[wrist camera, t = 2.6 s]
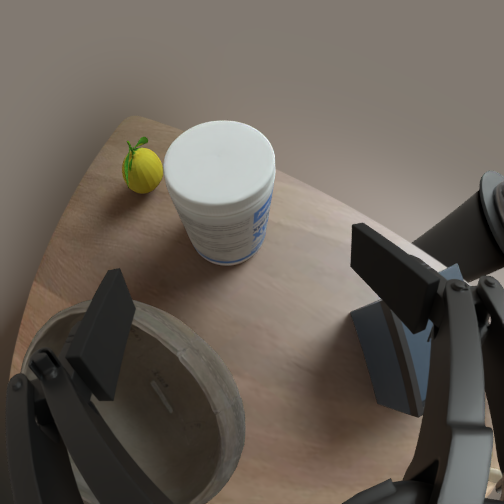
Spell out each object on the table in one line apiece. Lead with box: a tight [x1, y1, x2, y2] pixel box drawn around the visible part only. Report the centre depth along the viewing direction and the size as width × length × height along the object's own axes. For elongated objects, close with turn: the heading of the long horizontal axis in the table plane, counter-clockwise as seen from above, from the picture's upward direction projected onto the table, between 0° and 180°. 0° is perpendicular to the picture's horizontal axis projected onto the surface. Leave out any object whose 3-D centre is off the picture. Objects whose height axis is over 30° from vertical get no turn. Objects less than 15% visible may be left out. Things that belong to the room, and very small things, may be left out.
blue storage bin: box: [350, 264, 463, 417], centre depth 26 cm, size 13×13×10 cm
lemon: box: [122, 137, 163, 194], centre depth 32 cm, size 7×6×10 cm
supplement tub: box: [163, 121, 275, 265], centre depth 28 cm, size 10×10×15 cm
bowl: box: [20, 300, 245, 504], centre depth 20 cm, size 21×21×15 cm
